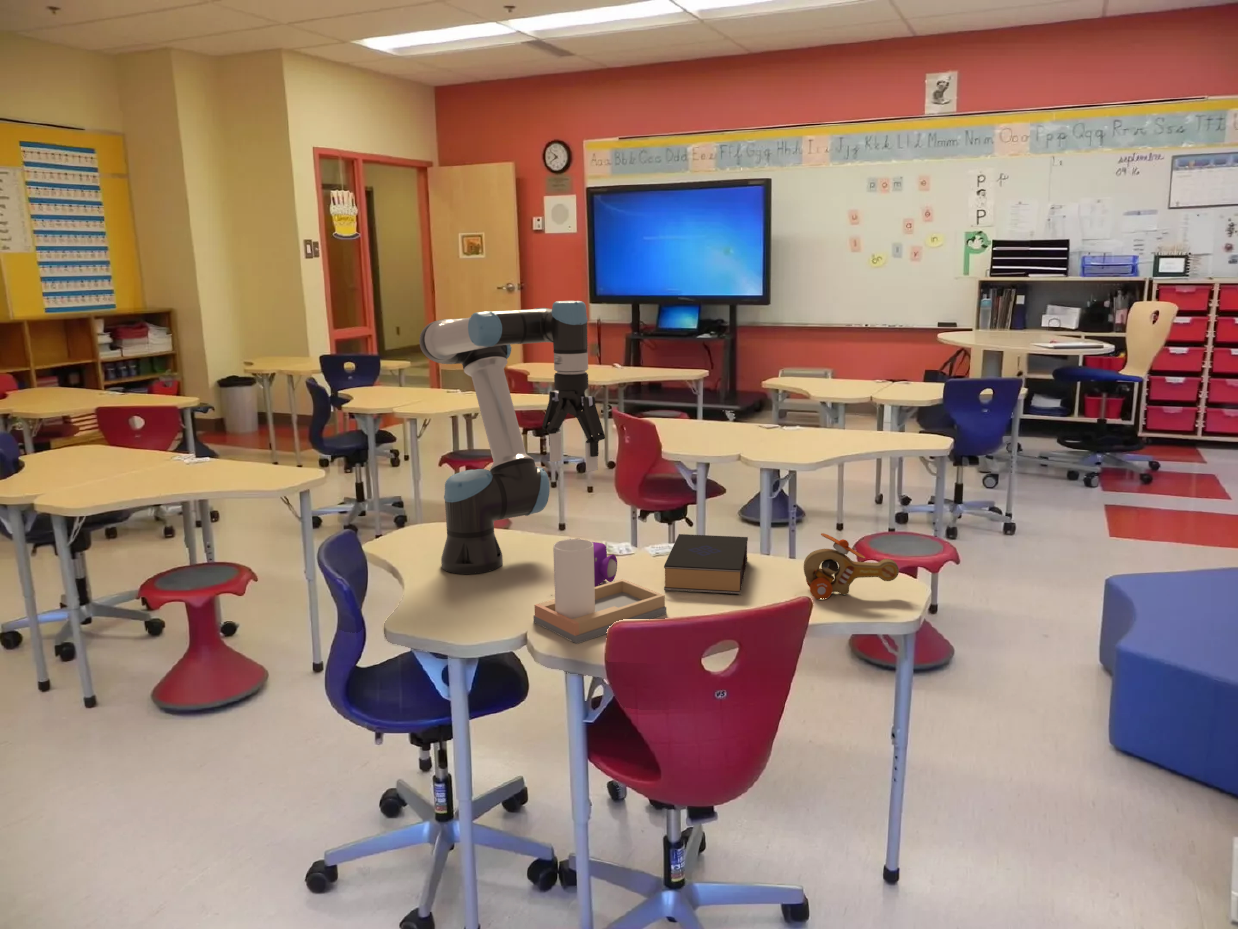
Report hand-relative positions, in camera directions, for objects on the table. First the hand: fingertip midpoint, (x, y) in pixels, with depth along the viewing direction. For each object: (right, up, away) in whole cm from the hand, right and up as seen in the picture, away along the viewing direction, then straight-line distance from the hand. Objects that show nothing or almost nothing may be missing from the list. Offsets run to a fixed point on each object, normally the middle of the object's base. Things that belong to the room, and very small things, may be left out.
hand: (573, 465), depth 211 cm
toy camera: (+3, -28, +7) cm, 29 cm away
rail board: (+6, -32, -13) cm, 35 cm away
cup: (+1, -32, -17) cm, 36 cm away
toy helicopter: (+61, -29, -1) cm, 68 cm away
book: (+31, -27, +12) cm, 43 cm away
